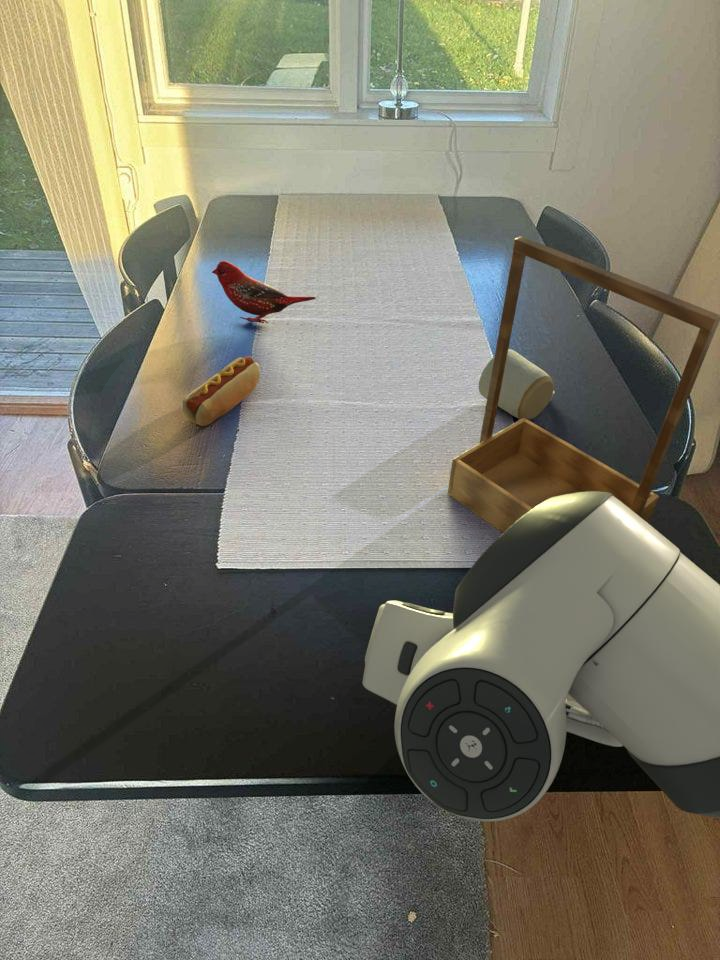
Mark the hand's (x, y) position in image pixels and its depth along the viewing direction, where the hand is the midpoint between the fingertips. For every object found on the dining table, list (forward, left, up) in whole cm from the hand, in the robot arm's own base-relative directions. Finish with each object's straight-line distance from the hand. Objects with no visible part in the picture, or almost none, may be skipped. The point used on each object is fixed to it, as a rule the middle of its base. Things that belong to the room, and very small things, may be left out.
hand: (502, 656), depth 60 cm
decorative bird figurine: (+75, +3, -7) cm, 75 cm away
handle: (+21, -18, -7) cm, 28 cm away
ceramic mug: (+42, -26, -7) cm, 49 cm away
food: (+54, +14, -7) cm, 56 cm away
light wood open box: (+21, -18, -7) cm, 28 cm away
